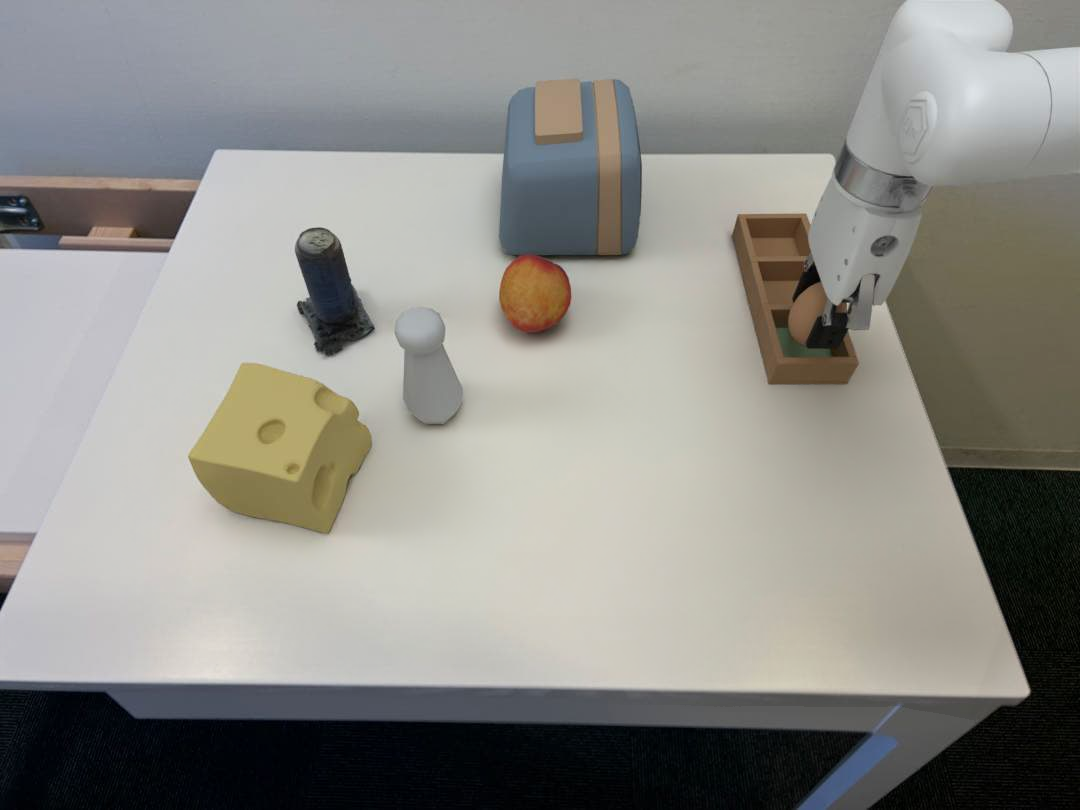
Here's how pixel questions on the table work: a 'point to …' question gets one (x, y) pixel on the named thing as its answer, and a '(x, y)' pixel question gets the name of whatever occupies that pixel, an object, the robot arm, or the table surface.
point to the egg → (808, 312)
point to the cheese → (281, 448)
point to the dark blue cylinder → (329, 291)
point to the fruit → (534, 293)
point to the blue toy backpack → (571, 170)
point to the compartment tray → (783, 299)
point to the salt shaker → (427, 367)
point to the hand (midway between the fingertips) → (814, 322)
